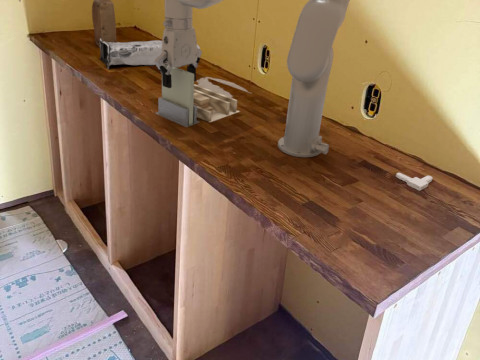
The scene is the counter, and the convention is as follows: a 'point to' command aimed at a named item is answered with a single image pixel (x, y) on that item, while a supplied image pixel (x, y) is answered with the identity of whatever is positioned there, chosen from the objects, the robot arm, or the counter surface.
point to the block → (104, 21)
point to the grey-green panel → (181, 90)
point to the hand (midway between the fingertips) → (179, 83)
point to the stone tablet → (215, 88)
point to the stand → (175, 112)
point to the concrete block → (130, 52)
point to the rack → (215, 105)
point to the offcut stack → (202, 102)
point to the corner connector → (415, 181)
